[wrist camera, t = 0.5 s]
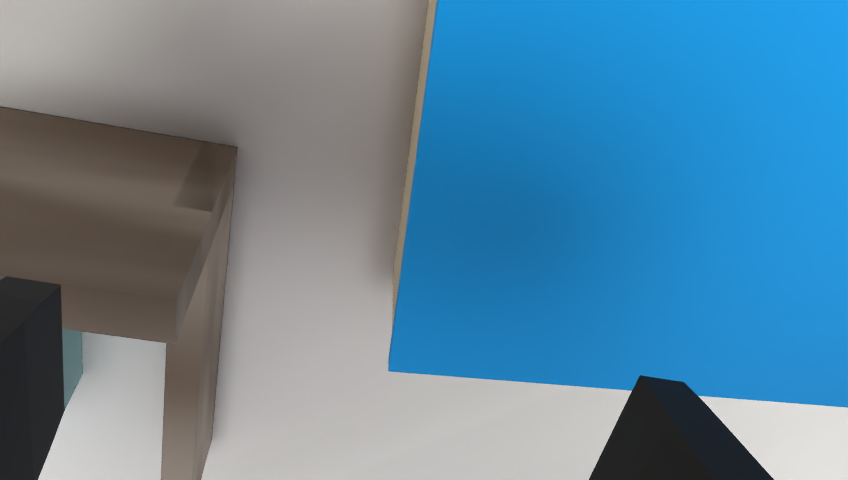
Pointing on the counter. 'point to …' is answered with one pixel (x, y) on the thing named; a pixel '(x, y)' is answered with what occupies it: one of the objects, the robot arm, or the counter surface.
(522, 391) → the counter surface
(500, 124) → the book
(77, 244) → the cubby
